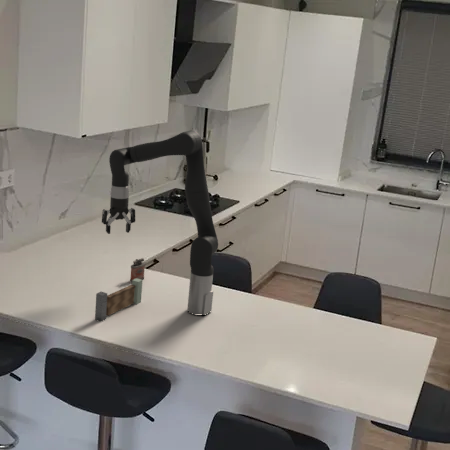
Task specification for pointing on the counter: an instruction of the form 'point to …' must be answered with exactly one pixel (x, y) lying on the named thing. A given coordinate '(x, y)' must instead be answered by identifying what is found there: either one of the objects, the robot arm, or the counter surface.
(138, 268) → the lighter
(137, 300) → the latch post
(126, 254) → the counter surface
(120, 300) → the gate
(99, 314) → the hinge post
